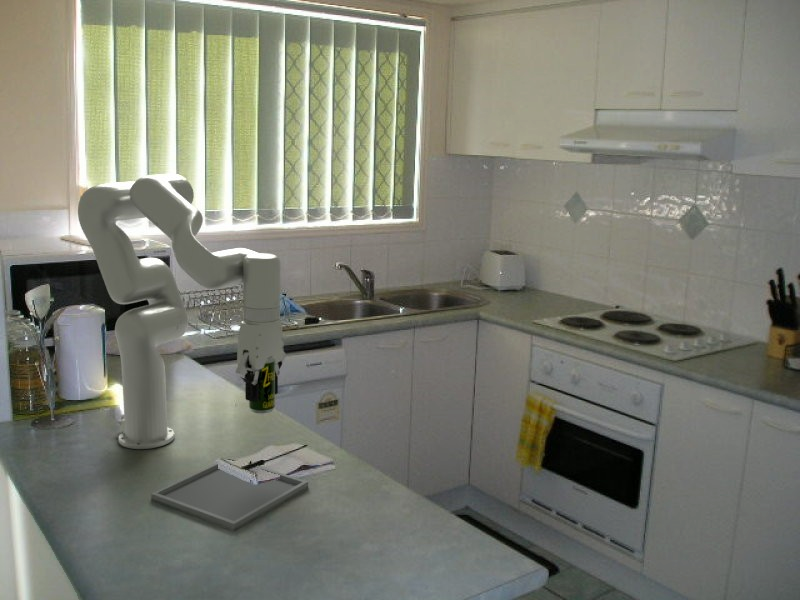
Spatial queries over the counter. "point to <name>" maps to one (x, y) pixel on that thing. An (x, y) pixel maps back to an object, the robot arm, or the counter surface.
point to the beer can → (265, 388)
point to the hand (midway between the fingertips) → (261, 395)
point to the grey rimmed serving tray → (227, 496)
